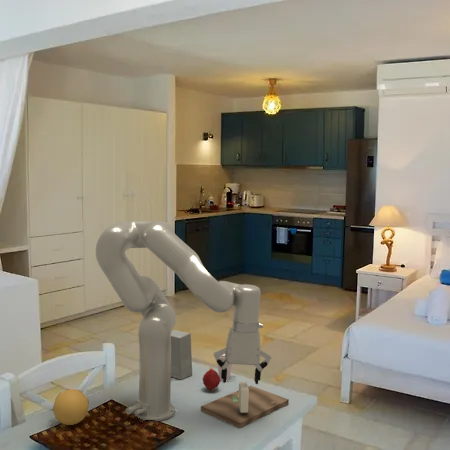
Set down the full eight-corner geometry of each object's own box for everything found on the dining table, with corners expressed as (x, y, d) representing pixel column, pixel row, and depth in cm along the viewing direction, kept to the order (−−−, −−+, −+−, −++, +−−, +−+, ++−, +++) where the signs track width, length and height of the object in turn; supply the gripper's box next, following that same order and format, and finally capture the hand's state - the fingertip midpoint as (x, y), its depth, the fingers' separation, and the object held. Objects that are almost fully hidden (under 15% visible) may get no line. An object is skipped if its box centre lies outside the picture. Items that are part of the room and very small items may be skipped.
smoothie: (231, 383, 193) (232, 344, 192) (213, 381, 194) (214, 342, 193) (234, 376, 199) (235, 339, 198) (217, 374, 200) (218, 337, 199)
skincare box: (192, 375, 199) (193, 333, 197) (179, 381, 193) (180, 337, 192) (175, 369, 204) (176, 328, 203) (161, 375, 198) (162, 332, 197)
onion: (222, 389, 187) (223, 366, 186) (213, 395, 182) (214, 371, 181) (208, 385, 190) (209, 363, 189) (199, 391, 185) (199, 368, 184)
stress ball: (81, 434, 154) (101, 403, 160) (59, 415, 150) (80, 383, 155) (61, 428, 161) (81, 399, 167) (39, 410, 156) (60, 380, 162)
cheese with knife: (249, 416, 163) (250, 389, 162) (238, 416, 163) (239, 389, 162) (243, 396, 177) (244, 372, 176) (233, 397, 177) (234, 372, 176)
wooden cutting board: (239, 428, 159) (240, 422, 159) (200, 411, 170) (200, 405, 169) (288, 404, 177) (288, 398, 176) (250, 390, 187) (250, 384, 187)
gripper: (271, 324, 168) (266, 378, 169) (215, 321, 166) (211, 375, 168) (275, 331, 160) (270, 388, 162) (217, 328, 159) (212, 385, 160)
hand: (240, 381), depth 165 cm, fingers open, 9 cm apart
